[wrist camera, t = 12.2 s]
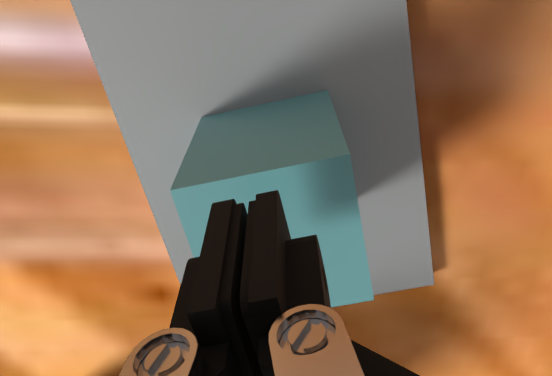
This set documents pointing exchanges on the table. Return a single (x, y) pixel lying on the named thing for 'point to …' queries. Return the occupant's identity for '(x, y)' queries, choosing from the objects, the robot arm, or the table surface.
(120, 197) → the table surface
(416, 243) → the stand
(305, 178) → the teal block
